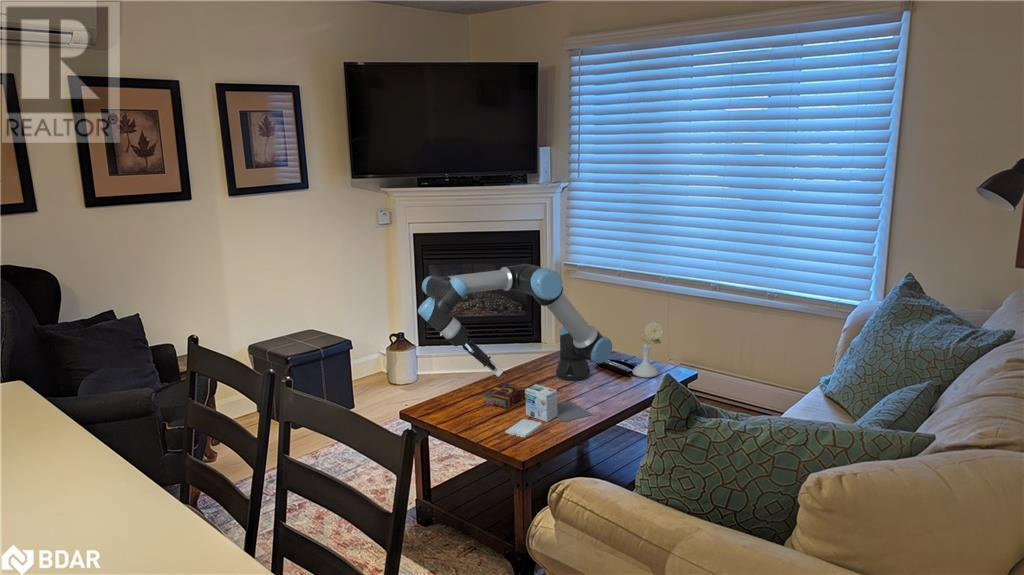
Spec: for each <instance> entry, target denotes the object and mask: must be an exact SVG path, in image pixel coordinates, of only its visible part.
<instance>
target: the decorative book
mask: <svg viewBox="0 0 1024 575" xmlns="http://www.w3.org/2000/svg"><path fill="white" fill-rule="evenodd" d="M527 388H528V387H522V386H517V385H514V384H512V383H508V382H504V383H502V384H500V385H499V386H498V387H497V386H495V387H494V388H493V389H491V390H489V391H486V392H484V393H483V396H485V401H483V404H484V405H485V404H486V405H485V406H493V407H498V408H501V409H502V408H503V409H505V410H507V409H509V408H513V407H515V405H516V404H518V403H520V401H521V402H523V401H524V400H526V396H525V389H527Z"/></svg>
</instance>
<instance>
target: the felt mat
mask: <svg viewBox="0 0 1024 575" xmlns="http://www.w3.org/2000/svg"><path fill="white" fill-rule="evenodd" d="M591 416H594V414H593V413H592V412H590V411H589V410H587V409H585V408H583V407H581V406H579V405H577V404H576V403H575V402H573V401H571V400H568V401H567V400H566V401H563V402H559V403H558V402H557V417H556V418H557V419H559V420H561V421H563V422H564V423H567V422H571V421H574V420H578V419H582V418H586V417H591ZM570 420H571V421H570Z"/></svg>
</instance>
